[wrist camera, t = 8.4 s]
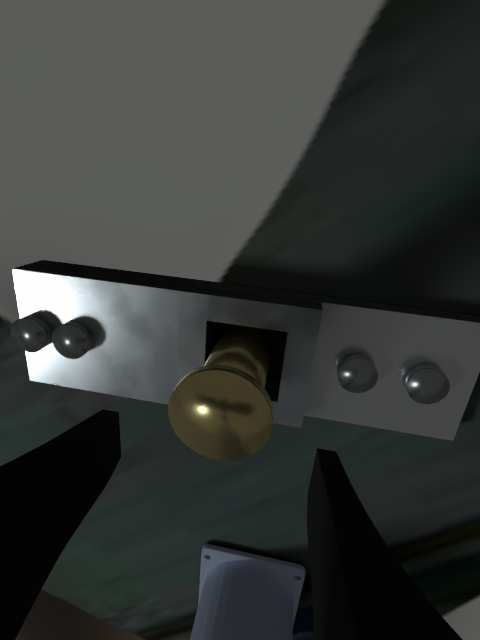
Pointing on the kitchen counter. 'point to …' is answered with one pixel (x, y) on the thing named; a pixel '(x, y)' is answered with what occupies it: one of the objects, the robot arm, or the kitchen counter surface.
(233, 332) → the pin
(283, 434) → the kitchen counter surface
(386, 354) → the square window plate
